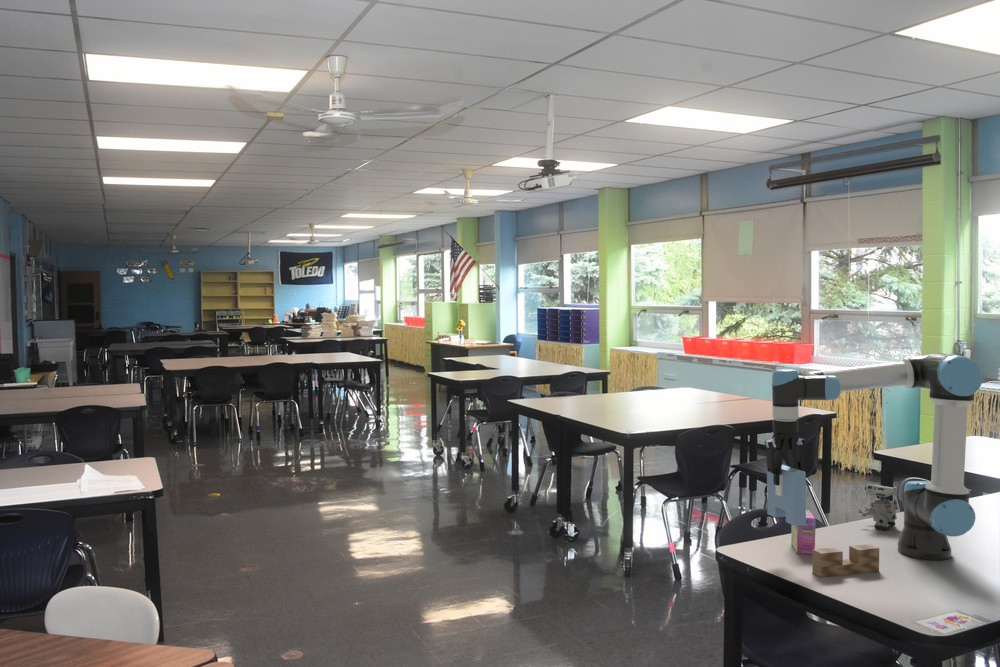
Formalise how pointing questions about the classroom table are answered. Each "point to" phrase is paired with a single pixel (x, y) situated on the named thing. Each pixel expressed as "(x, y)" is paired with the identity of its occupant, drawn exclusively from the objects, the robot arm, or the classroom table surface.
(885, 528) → the figurine
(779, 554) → the classroom table surface
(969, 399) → the robot arm
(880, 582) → the classroom table surface
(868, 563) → the rail
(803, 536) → the box
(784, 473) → the board
